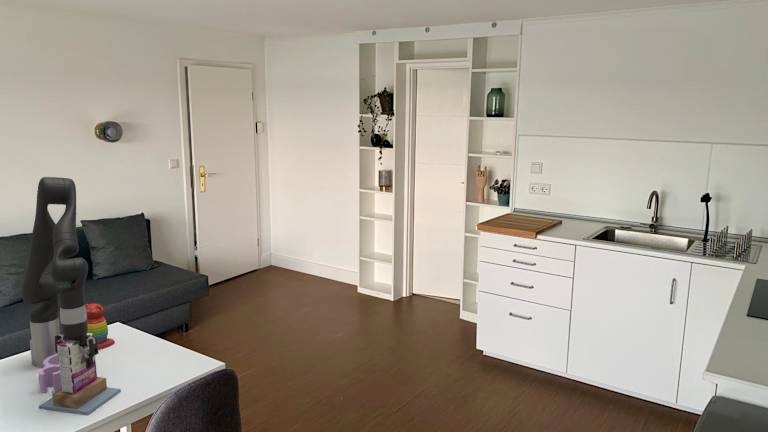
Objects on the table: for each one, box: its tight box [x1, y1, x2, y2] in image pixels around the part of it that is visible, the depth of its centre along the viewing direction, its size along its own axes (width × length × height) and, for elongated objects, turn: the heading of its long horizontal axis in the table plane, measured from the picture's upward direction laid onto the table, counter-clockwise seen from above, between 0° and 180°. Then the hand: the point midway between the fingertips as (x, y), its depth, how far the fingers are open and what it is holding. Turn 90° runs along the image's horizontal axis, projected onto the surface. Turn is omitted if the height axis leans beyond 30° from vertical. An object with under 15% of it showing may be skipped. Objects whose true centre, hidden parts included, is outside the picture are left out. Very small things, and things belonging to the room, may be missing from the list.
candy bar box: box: [57, 333, 98, 393], centre depth 193 cm, size 11×5×16 cm, turn 168°
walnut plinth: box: [51, 376, 108, 409], centre depth 195 cm, size 9×14×4 cm, turn 168°
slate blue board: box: [38, 386, 122, 416], centre depth 195 cm, size 18×16×1 cm
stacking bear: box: [85, 303, 116, 351], centre depth 237 cm, size 11×10×18 cm
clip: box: [37, 354, 62, 395], centre depth 209 cm, size 20×12×7 cm, turn 6°
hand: (78, 366), depth 193 cm, fingers open, 8 cm apart
